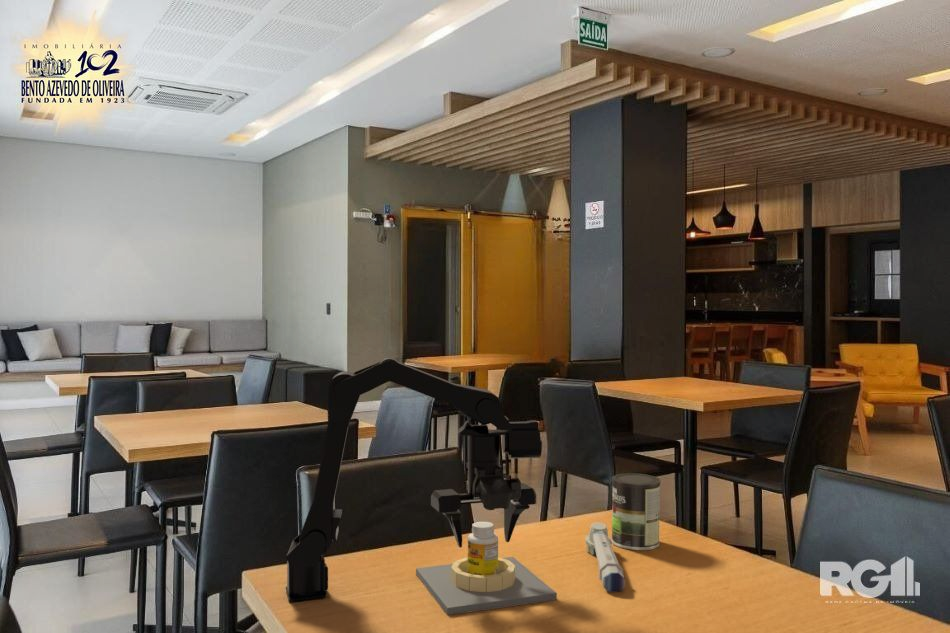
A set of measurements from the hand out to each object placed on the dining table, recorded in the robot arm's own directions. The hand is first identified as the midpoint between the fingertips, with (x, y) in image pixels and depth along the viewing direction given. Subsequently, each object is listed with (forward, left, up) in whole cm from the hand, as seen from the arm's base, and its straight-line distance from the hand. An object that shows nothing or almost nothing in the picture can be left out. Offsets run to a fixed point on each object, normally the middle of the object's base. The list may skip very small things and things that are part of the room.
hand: (483, 544), depth 137 cm
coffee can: (+40, +13, -8) cm, 43 cm away
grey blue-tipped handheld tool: (+26, +2, -8) cm, 27 cm away
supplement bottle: (0, 0, -7) cm, 7 cm away
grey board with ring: (0, 0, -8) cm, 8 cm away
